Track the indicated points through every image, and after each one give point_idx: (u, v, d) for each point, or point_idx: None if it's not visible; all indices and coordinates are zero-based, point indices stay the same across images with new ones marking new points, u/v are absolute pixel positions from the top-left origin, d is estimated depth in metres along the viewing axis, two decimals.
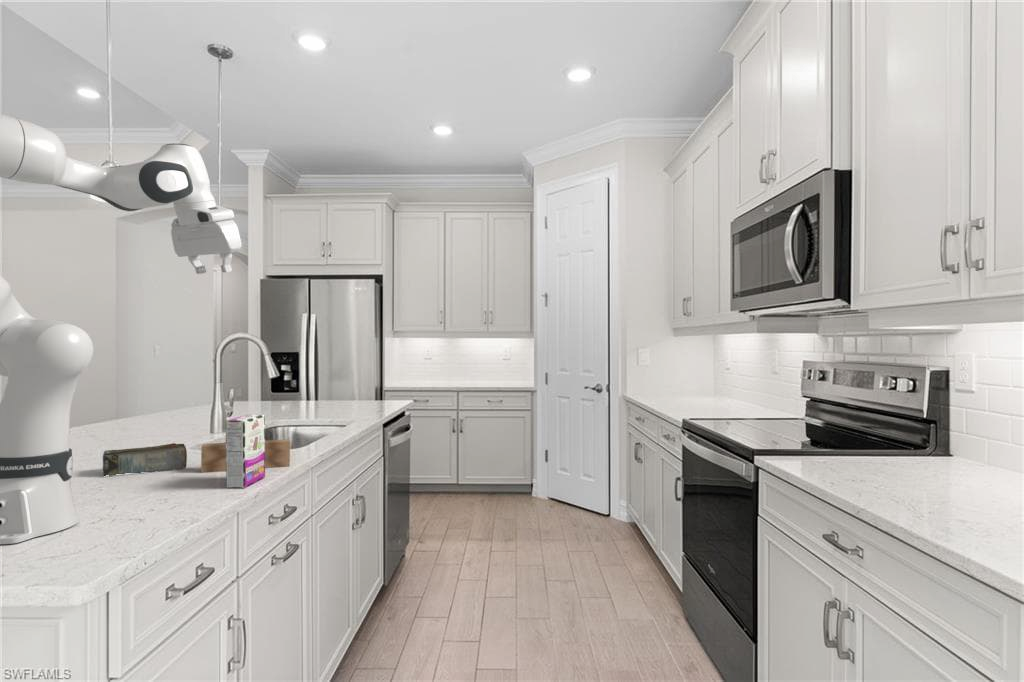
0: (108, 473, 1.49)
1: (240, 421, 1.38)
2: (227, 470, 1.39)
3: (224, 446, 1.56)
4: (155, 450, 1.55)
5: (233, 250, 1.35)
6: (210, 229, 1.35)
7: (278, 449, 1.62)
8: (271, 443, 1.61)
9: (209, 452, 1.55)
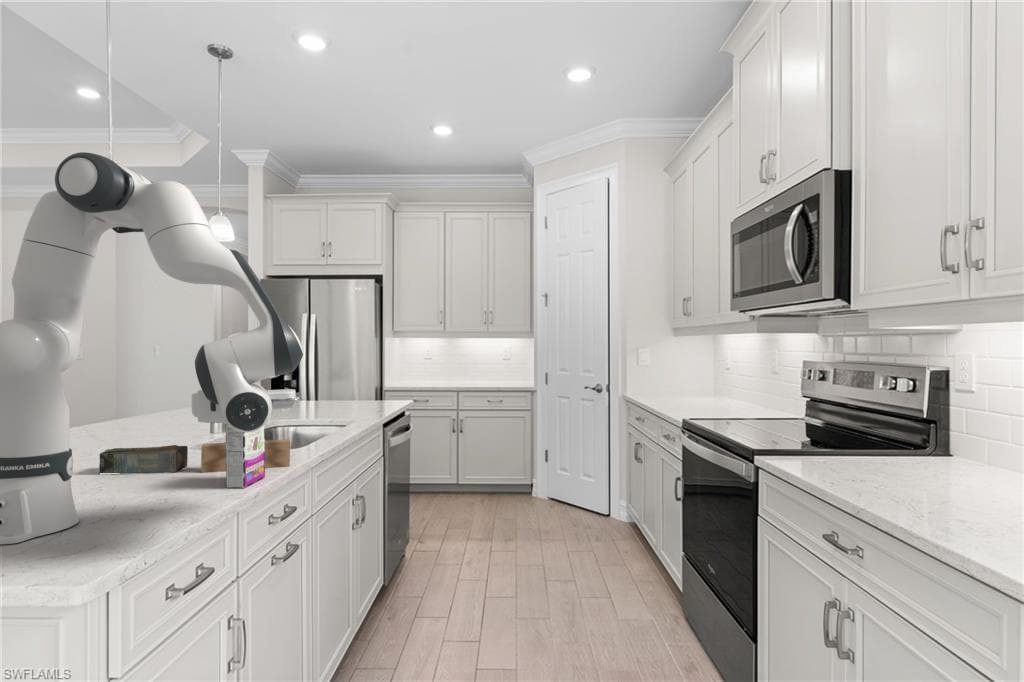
0: (104, 472, 1.51)
1: None
2: (227, 470, 1.39)
3: (224, 446, 1.56)
4: (148, 451, 1.53)
5: None
6: None
7: (278, 449, 1.62)
8: (271, 443, 1.61)
9: (209, 452, 1.55)
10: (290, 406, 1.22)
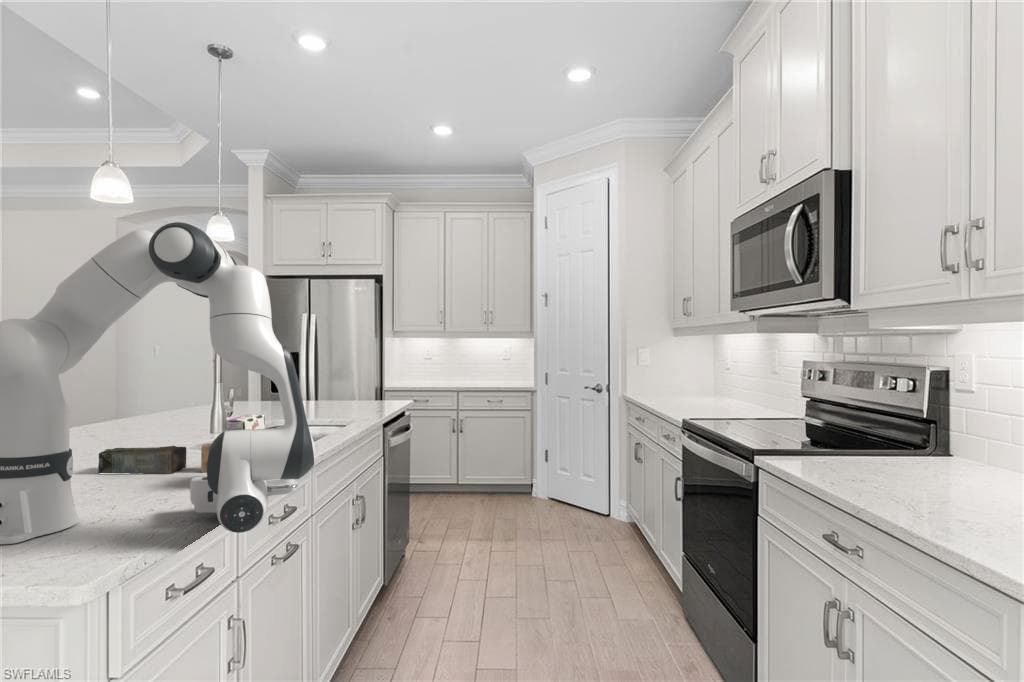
0: (103, 471, 1.51)
1: (240, 421, 1.38)
2: None
3: None
4: (144, 452, 1.52)
5: None
6: None
7: None
8: None
9: None
10: (288, 492, 1.21)
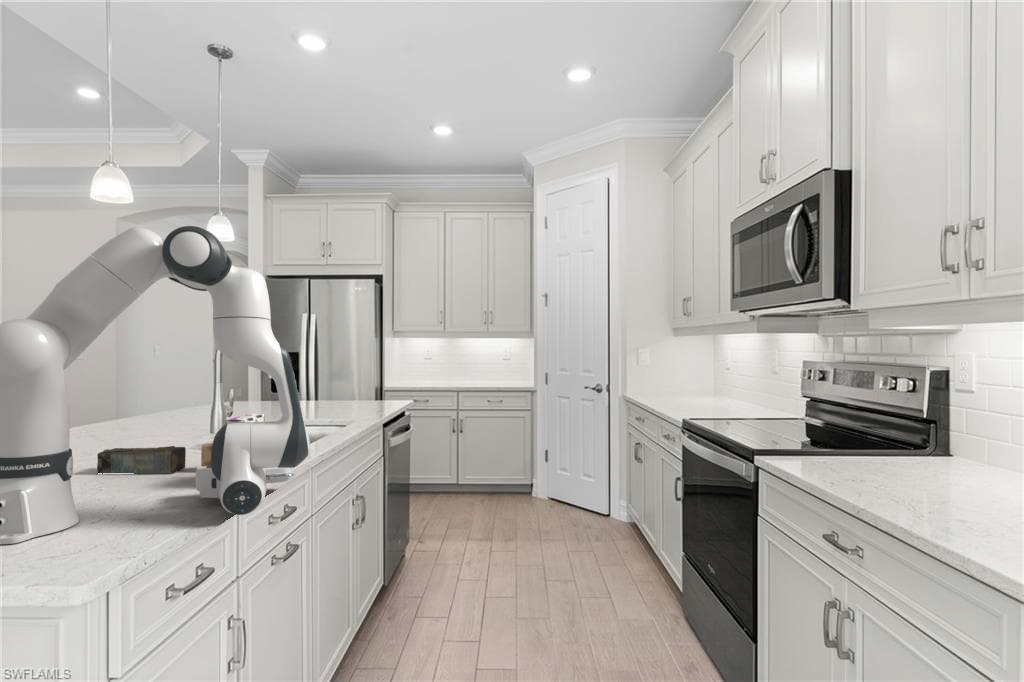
0: (102, 472, 1.51)
1: (240, 420, 1.39)
2: None
3: None
4: (143, 452, 1.52)
5: None
6: None
7: None
8: None
9: (209, 452, 1.55)
10: (285, 480, 1.32)
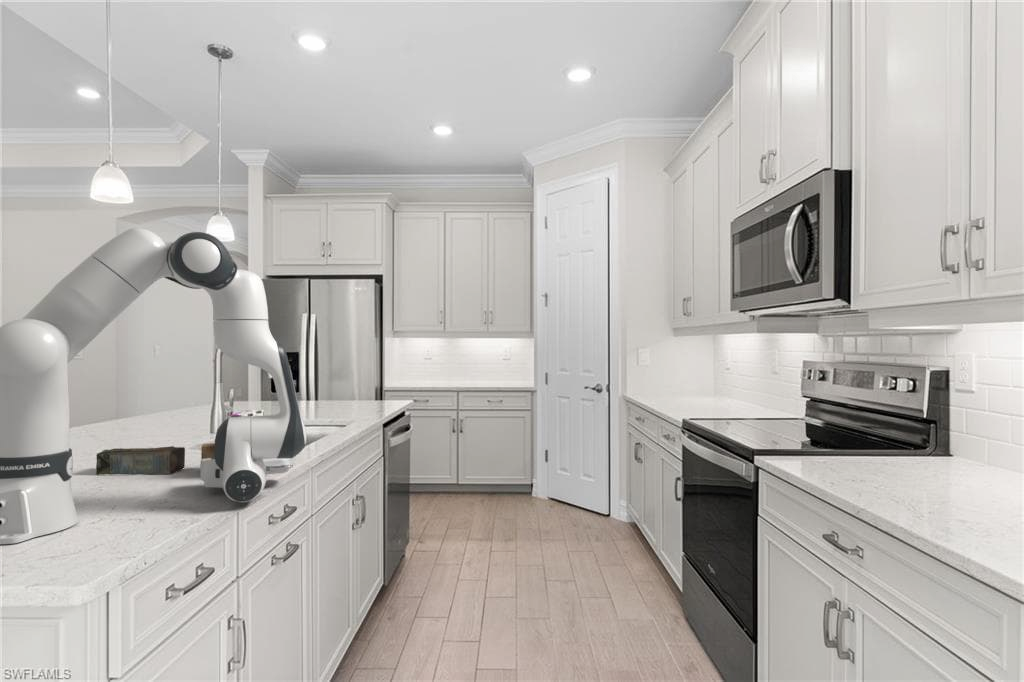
0: (101, 472, 1.50)
1: (241, 416, 1.48)
2: None
3: None
4: (142, 452, 1.51)
5: None
6: None
7: None
8: None
9: (209, 452, 1.55)
10: (284, 471, 1.41)
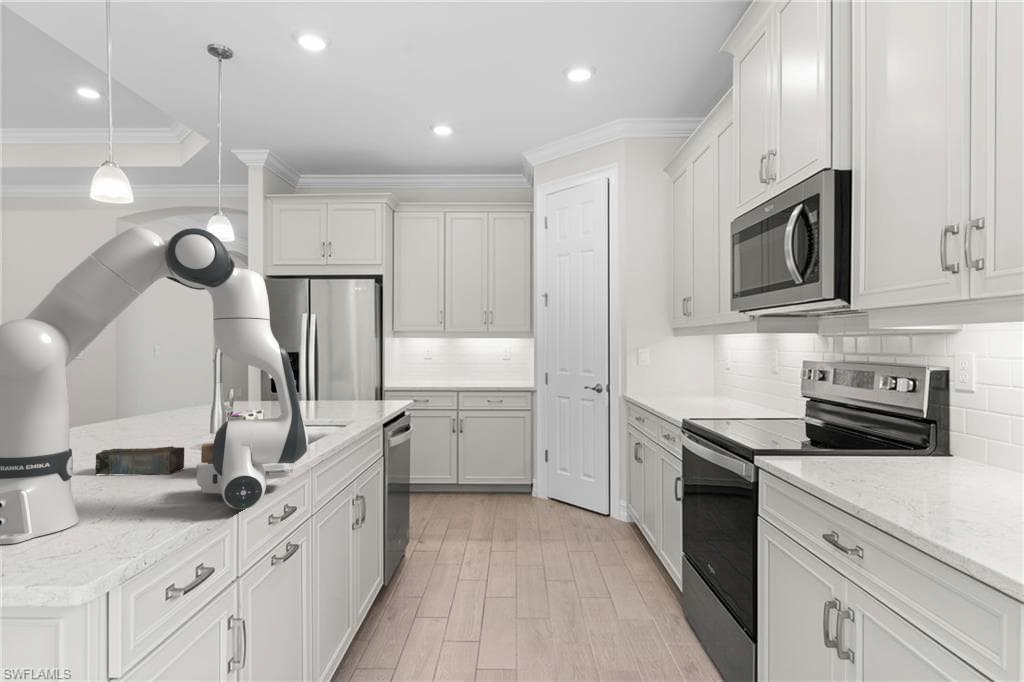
0: (100, 472, 1.50)
1: (241, 416, 1.48)
2: None
3: None
4: (142, 453, 1.51)
5: None
6: None
7: None
8: None
9: (209, 452, 1.55)
10: (284, 476, 1.36)
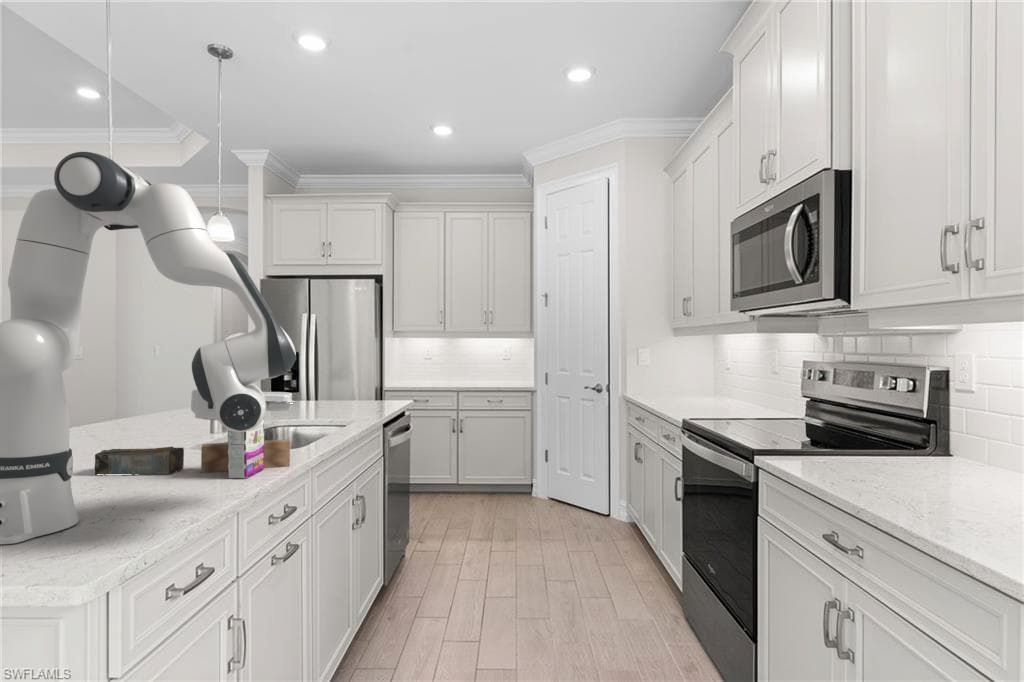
0: (99, 473, 1.50)
1: None
2: (229, 462, 1.48)
3: (224, 446, 1.56)
4: (141, 453, 1.51)
5: None
6: None
7: (278, 449, 1.62)
8: (271, 443, 1.61)
9: (209, 452, 1.55)
10: (285, 409, 1.26)
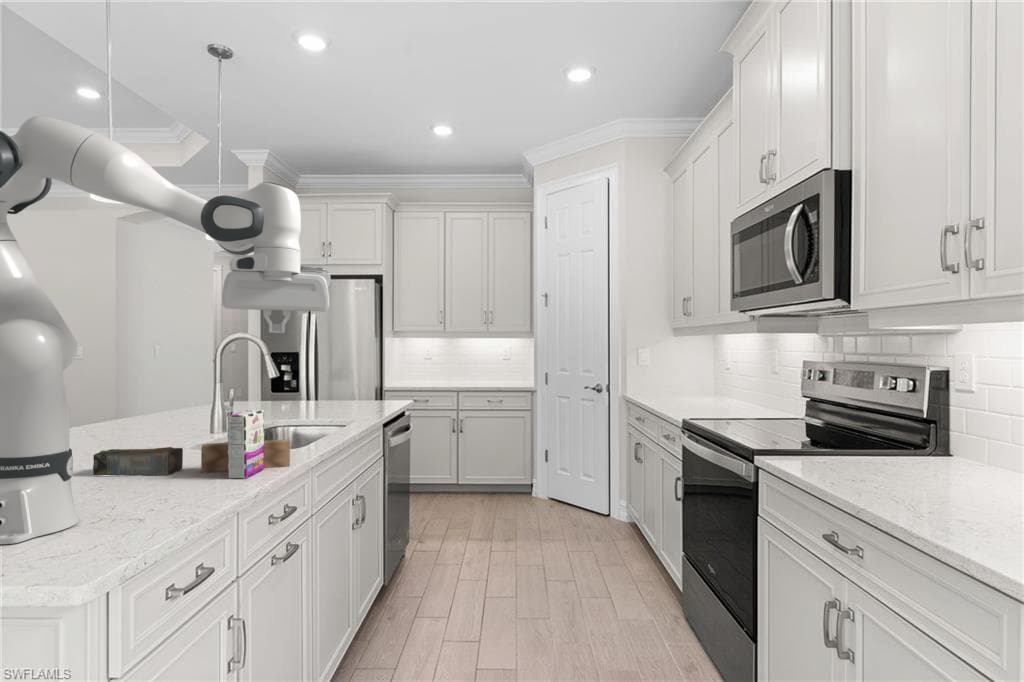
0: (98, 473, 1.49)
1: (241, 416, 1.48)
2: (229, 462, 1.48)
3: (224, 446, 1.56)
4: (140, 453, 1.50)
5: None
6: None
7: (278, 449, 1.62)
8: (271, 443, 1.61)
9: (209, 452, 1.55)
10: (321, 276, 1.20)
